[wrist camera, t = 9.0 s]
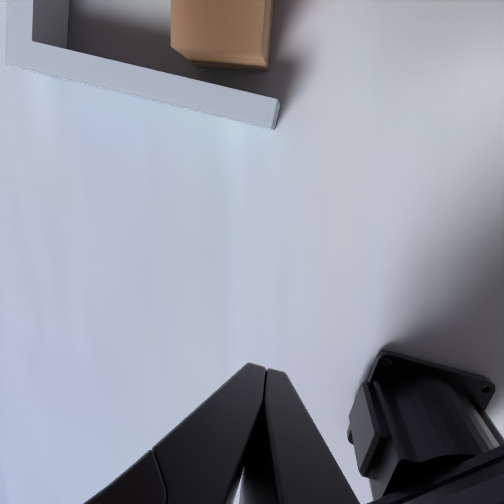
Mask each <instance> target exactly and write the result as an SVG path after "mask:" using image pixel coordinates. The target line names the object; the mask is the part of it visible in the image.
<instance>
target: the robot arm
mask: <svg viewBox="0 0 504 504" xmlns="http://www.w3.org/2000/svg"><path fill="white" fill-rule="evenodd" d="M384 359H390V360H389V362H382V361H383V360H384ZM484 385H487V386H486V387H485V388H483V389H481V387H482V386H484ZM494 392H495V385H494V384H493V383H492V382H491V380H490V379H488V378H486V377H483V376H479V375H475V374H472V373H468V372H464V371H460V370H457V369H453V368H449V367H445V366H442V365H438V364H434V363H431V362H427V361H423V360H419V359H416V358H412V357H408V356H405V355H401V354H397V353H393V352H390V351H382V352H380V353H379V354H378V355H377V357H376V359H375V362H374V364H373V367H372V370H371V372H370V375H369V377H368V380H367V381H365V382H363V383H362V384H361V386H360V388H359V391H358V394H357V396H356V399H355V401H354V404H353V407H352V409H351V412H350V414H349V420H350V426H349V428H348V431H347V437H348V441H349V442H350V443H351V444H353V445H354V449H355V454H356V460H357V465H358V470H359V472H360V474H361V476H363V477H366V478H369V482H370V487H371V492H372V497H373V501H372V502H370V503H367V504H504V438H503V437H502V435H501V434H500V433H499V431H498V430H497V428H496V427H495V425H494V424H493V422H492V421H491V419H490V418H489V417H488V415H487V414H486V412H485V409H486V407H487V405H488V403H489V402H490V400H491V398H492V396H493V394H494ZM242 472H243V474H242ZM241 476H242V480H241V489H240V501H239V504H360V503H359V501H358V499H357V498H356V496H355V494H354V492H353V490H352V489H351V487H350V485H349V483H348V482H347V480H346V478H345V476H344V475H343V473H342V471H341V469H340V468H339V466H338V464H337V462H336V461H335V459H334V457H333V455H332V453H331V452H330V450H329V448H328V446H327V445H326V443H325V441H324V439H323V438H322V436H321V434H320V432H319V431H318V429H317V427H316V425H315V424H314V422H313V420H312V418H311V416H310V415H309V413H308V411H307V409H306V408H305V406H304V404H303V402H302V401H301V399H300V397H299V395H298V394H297V392H296V390H295V388H294V387H293V385H292V383H291V381H290V379H289V378H288V376H287V374H286V373H285V372H282V371H278V370H274V369H271V368H269V369H267V370H266V368H265V367H263V366H260V365H256V364H252V363H247V364H246V365H245V366H243V367H242V368H241V369H240V370H239V371H238V372H237V373H236V374H234V375H233V376H232V377H231V378H230V379H229V380H228V381H227V382H225V383H224V384H223V385H222V386H221V387H220V388H219V389H218V390H217V391H215V392H214V393H213V394H212V395H211V396H210V397H209V398H208V399H206V400H205V401H204V402H203V403H202V404H201V405H200V406H199V407H197V408H196V409H195V410H194V411H193V412H192V413H191V414H190V415H188V416H187V417H186V418H185V419H184V420H183V421H182V422H181V423H179V424H178V425H177V426H176V427H175V428H174V429H173V430H172V431H170V432H169V433H168V434H167V435H166V436H165V437H164V438H163V439H161V440H160V441H159V442H158V443H157V444H156V445H155V446H154V447H153V448H152V450H149V451H148V452H147V453H145V454H144V455H143V456H142V457H141V458H140V459H139V460H138V461H137V462H135V463H134V464H133V465H132V466H131V467H130V468H128V469H127V470H126V471H125V472H124V473H122V474H121V475H120V476H119V477H118V478H116V479H115V480H114V481H113V482H112V483H110V484H109V485H108V486H107V487H105V488H104V489H103V490H101V491H100V492H98V493H97V494H96V495H94V496H93V497H92V498H90V499H89V500H88V501H86V502H85V503H84V504H233V502H234V498H235V495H236V492H237V489H238V486H239V482H240V479H241Z"/></svg>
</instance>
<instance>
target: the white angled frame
mask: <svg viewBox="0 0 504 504" xmlns="http://www.w3.org/2000/svg"><path fill="white" fill-rule="evenodd" d="M69 3H70V0H7V19H6V65H10V66H13V67H17V68H21V69H25V70H29V71H32V72H36V73H40V74H44V75H48V76H52V77H56V78H60V79H65V80H69V81H73V82H77V83H81V84H85V85H89V86H94V87H98V88H102V89H106V90H110V91H114V92H118V93H123V94H127V95H131V96H135V97H139V98H143V99H147V100H152V101H156V102H160V103H164V104H168V105H172V106H176V107H181V108H185V109H189V110H193V111H197V112H201V113H205V114H210V115H214V116H218V117H222V118H226V119H230V120H235V121H239V122H243V123H247V124H251V125H255V126H259V127H264V128H268V129H272V130H275V126H276V121H277V117H278V113H279V109H280V103H279V101H278V99H275V98H271V97H266V96H262V95H258V94H254V93H249V92H245V91H241V90H237V89H233V88H228V87H224V86H220V85H216V84H211V83H207V82H203V81H199V80H194V79H190V78H186V77H182V76H178V75H173V74H169V73H165V72H161V71H156V70H152V69H148V68H144V67H140V66H135V65H131V64H127V63H123V62H118V61H114V60H110V59H106V58H102V57H97V56H93V55H89V54H85V53H80V52H76V51H72V50H68V49H67V35H68V19H69Z"/></svg>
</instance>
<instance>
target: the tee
mask: <svg viewBox="0 0 504 504" xmlns="http://www.w3.org/2000/svg"><path fill="white" fill-rule="evenodd" d="M273 10H274V0H171V47H172V48H173V49H175V50H176V51H177V52H179V53H180V54H181V55H183V56H184V57H185V58H187V59H188V60H189V61H190V62H192V63H193V64H194V65H196V66H197V67H211V68H226V69H242V70H257V71H268V69H269V57H270V45H271V33H272V22H273Z"/></svg>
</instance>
